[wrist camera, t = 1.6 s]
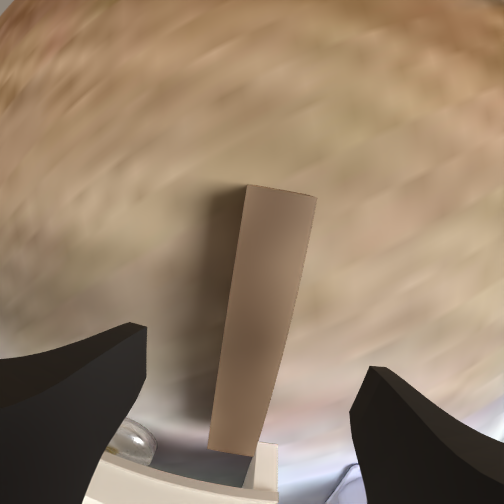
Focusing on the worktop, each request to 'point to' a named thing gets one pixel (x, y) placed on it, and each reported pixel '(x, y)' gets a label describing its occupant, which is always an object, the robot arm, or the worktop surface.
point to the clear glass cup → (133, 443)
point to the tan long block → (259, 313)
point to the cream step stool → (181, 483)
